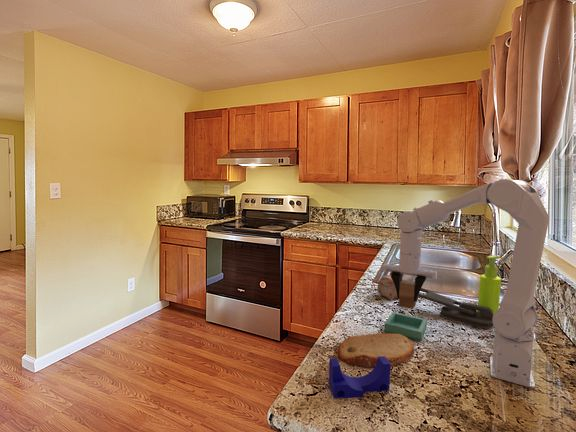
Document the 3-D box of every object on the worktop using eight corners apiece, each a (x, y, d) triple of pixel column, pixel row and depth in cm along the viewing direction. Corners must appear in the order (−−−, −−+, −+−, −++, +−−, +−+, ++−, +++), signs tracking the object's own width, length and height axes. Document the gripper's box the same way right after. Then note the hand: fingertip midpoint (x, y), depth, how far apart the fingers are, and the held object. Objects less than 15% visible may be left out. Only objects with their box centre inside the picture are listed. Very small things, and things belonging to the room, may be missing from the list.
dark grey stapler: (415, 285, 117) (497, 301, 101) (414, 302, 118) (495, 321, 102) (407, 290, 110) (493, 309, 94) (406, 309, 111) (491, 331, 95)
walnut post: (413, 309, 91) (414, 285, 91) (398, 306, 93) (399, 282, 93) (415, 304, 95) (416, 281, 94) (401, 302, 97) (402, 279, 96)
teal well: (420, 340, 88) (421, 332, 88) (384, 331, 93) (384, 323, 93) (426, 327, 96) (427, 319, 96) (392, 319, 102) (392, 312, 101)
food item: (392, 302, 117) (393, 275, 116) (375, 295, 124) (376, 270, 123) (414, 295, 125) (416, 270, 124) (397, 290, 132) (398, 266, 131)
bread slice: (414, 344, 87) (415, 331, 86) (413, 381, 70) (414, 365, 70) (348, 331, 93) (348, 319, 93) (333, 363, 77) (333, 348, 76)
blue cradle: (333, 399, 63) (334, 370, 63) (328, 385, 68) (329, 358, 67) (392, 396, 65) (393, 368, 64) (383, 382, 69) (384, 356, 69)
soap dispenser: (504, 317, 105) (509, 257, 103) (489, 320, 103) (494, 258, 101) (487, 310, 111) (492, 253, 109) (473, 313, 108) (477, 254, 106)
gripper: (439, 254, 92) (436, 299, 94) (388, 248, 100) (385, 290, 101) (436, 258, 86) (433, 307, 88) (381, 251, 94) (379, 297, 95)
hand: (407, 299), depth 94 cm, fingers closed on walnut post, 4 cm apart
